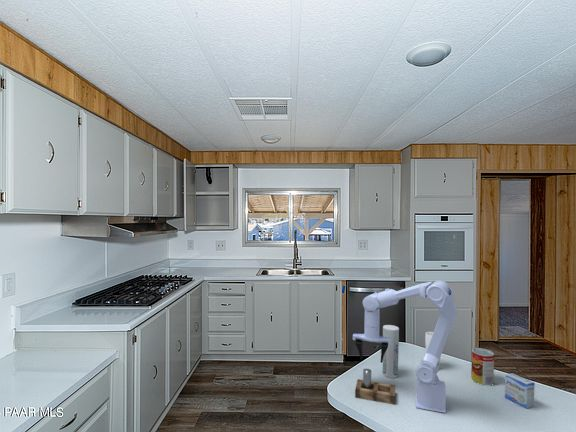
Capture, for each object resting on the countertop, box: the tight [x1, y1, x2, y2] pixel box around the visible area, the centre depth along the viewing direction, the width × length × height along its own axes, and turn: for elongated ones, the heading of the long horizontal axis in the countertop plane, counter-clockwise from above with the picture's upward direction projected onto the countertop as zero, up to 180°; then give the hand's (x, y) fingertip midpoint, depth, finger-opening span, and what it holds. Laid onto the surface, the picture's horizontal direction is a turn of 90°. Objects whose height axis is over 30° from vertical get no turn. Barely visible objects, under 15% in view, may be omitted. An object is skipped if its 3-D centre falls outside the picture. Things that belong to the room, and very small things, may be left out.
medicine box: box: [504, 372, 536, 409], centre depth 121 cm, size 8×4×9 cm, turn 23°
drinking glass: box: [424, 331, 441, 366], centre depth 147 cm, size 7×7×15 cm
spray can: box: [382, 324, 400, 379], centre depth 140 cm, size 6×6×20 cm
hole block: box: [354, 379, 396, 405], centre depth 124 cm, size 14×8×3 cm, turn 72°
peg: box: [362, 368, 372, 389], centre depth 124 cm, size 3×3×9 cm
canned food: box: [470, 347, 495, 386], centre depth 136 cm, size 8×8×12 cm
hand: (371, 360), depth 130 cm, fingers open, 7 cm apart
